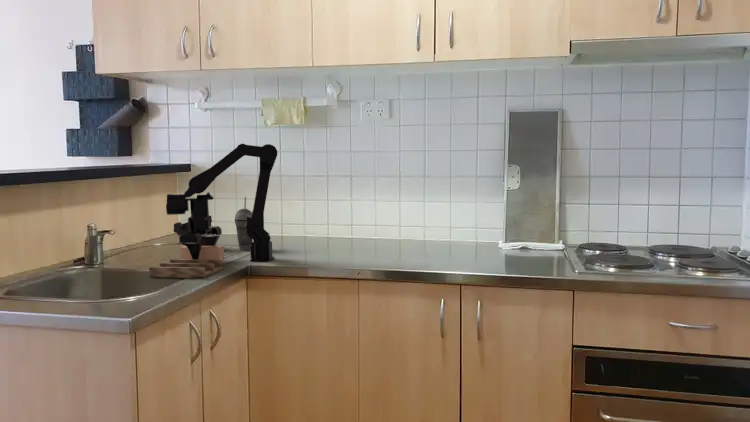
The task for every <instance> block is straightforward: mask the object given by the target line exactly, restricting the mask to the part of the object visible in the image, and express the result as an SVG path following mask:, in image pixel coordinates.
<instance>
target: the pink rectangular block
mask: <svg viewBox="0 0 750 422" xmlns="http://www.w3.org/2000/svg"><path fill="white" fill-rule="evenodd" d="M224 247H225V246H224V245H215V246H201V250H200V255H199V259H198V260H222V261H223V263H224V264H225V250H224V249H225V248H224ZM179 253H180V259H192V256H191V254H190V251H189V249H188V248H187V247H186V246H185V245H182V246H180V247H179Z"/></svg>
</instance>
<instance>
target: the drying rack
mask: <svg viewBox="0 0 750 422" xmlns="http://www.w3.org/2000/svg"><path fill="white" fill-rule="evenodd" d="M223 269H224V265H223V261H222V260H196V259H181V258H170V259H169V262H160V263H159V266H149V267H148V273H149V278H180V279H181V278H184V279H189V278H190V279H192V278H191V277H205V278H207V277H206V276H208V275H210V274H212V275H214V274H216V273H218V272H220V271H222V270H223ZM219 270H220V271H219ZM217 271H218V272H217ZM215 272H216V273H215ZM213 273H214V274H213ZM210 276H211V275H210ZM208 277H209V276H208Z"/></svg>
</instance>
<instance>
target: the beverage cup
mask: <svg viewBox="0 0 750 422" xmlns="http://www.w3.org/2000/svg"><path fill="white" fill-rule="evenodd" d="M246 206H247V197H246V196H245V197H244V207H243V208H240V209H239V210H237V212H236V213H235V216H234V224H235V228H236V234H237V243H238V247H239V251H240V252H247V251H249V252H250V247H251V246H252V245H251V243H252V242H253V239H252V238H250V237H249V236H248V235H247V228H246V229H245V224H246V222H247V215H250V216H251V214H252V211H251V210H250V209H248V208H247V207H246Z"/></svg>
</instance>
